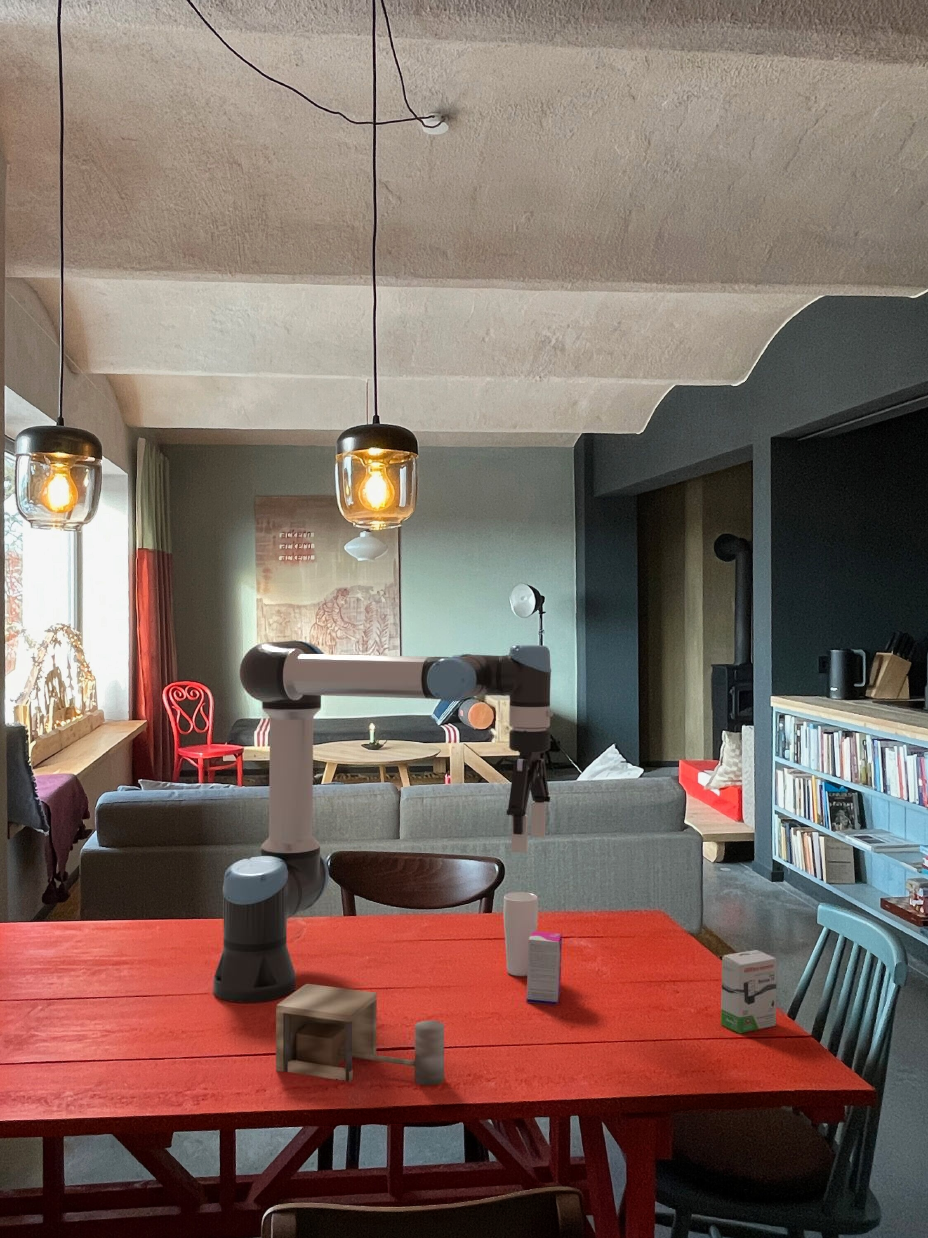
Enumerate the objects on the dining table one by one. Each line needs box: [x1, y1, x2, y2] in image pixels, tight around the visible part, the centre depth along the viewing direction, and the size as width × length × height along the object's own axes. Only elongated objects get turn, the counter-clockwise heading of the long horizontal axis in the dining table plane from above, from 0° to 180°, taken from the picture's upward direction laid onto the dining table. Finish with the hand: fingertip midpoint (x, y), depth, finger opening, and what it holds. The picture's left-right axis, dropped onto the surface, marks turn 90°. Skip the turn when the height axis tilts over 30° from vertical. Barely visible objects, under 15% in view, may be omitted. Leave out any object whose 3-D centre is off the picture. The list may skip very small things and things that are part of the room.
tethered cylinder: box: [296, 1019, 445, 1087], centre depth 159 cm, size 23×5×8 cm, turn 72°
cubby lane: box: [275, 983, 378, 1083], centre depth 162 cm, size 12×10×10 cm
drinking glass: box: [502, 891, 539, 977], centre depth 204 cm, size 7×7×15 cm
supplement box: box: [526, 931, 563, 1006], centre depth 190 cm, size 6×6×12 cm
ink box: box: [720, 949, 778, 1034], centre depth 178 cm, size 9×5×12 cm, turn 118°
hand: (528, 844), depth 191 cm, fingers open, 13 cm apart
